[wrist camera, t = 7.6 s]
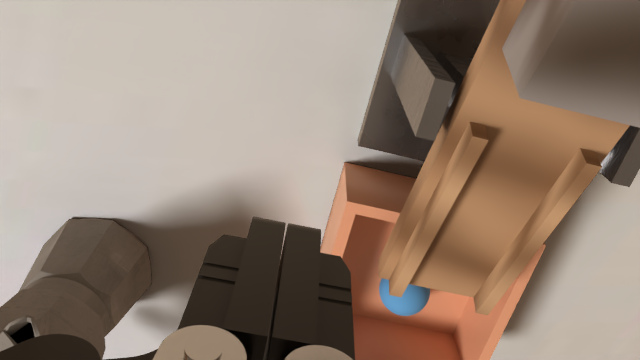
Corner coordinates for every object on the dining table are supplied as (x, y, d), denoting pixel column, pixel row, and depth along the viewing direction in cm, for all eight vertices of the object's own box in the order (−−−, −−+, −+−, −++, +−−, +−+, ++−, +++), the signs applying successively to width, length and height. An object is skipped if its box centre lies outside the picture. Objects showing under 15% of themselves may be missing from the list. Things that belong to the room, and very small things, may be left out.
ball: (370, 313, 43) (376, 265, 45) (417, 323, 44) (422, 275, 45) (384, 306, 40) (390, 254, 41) (435, 317, 40) (439, 265, 41)
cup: (344, 162, 41) (347, 201, 35) (516, 201, 42) (546, 245, 36) (304, 304, 47) (300, 358, 41) (455, 335, 48) (473, 391, 42)
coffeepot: (62, 176, 42) (-107, 334, 26) (176, 220, 43) (85, 395, 27) (25, 317, 48) (-132, 517, 32) (126, 352, 50) (27, 559, 33)
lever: (552, -111, 21) (594, -65, 16) (739, -57, 21) (825, -1, 17) (378, 259, 36) (378, 331, 32) (491, 283, 36) (505, 356, 32)
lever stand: (424, -92, 34) (475, -103, 22) (616, -40, 35) (763, -23, 23) (357, 139, 40) (369, 227, 28) (520, 177, 41) (595, 276, 30)
